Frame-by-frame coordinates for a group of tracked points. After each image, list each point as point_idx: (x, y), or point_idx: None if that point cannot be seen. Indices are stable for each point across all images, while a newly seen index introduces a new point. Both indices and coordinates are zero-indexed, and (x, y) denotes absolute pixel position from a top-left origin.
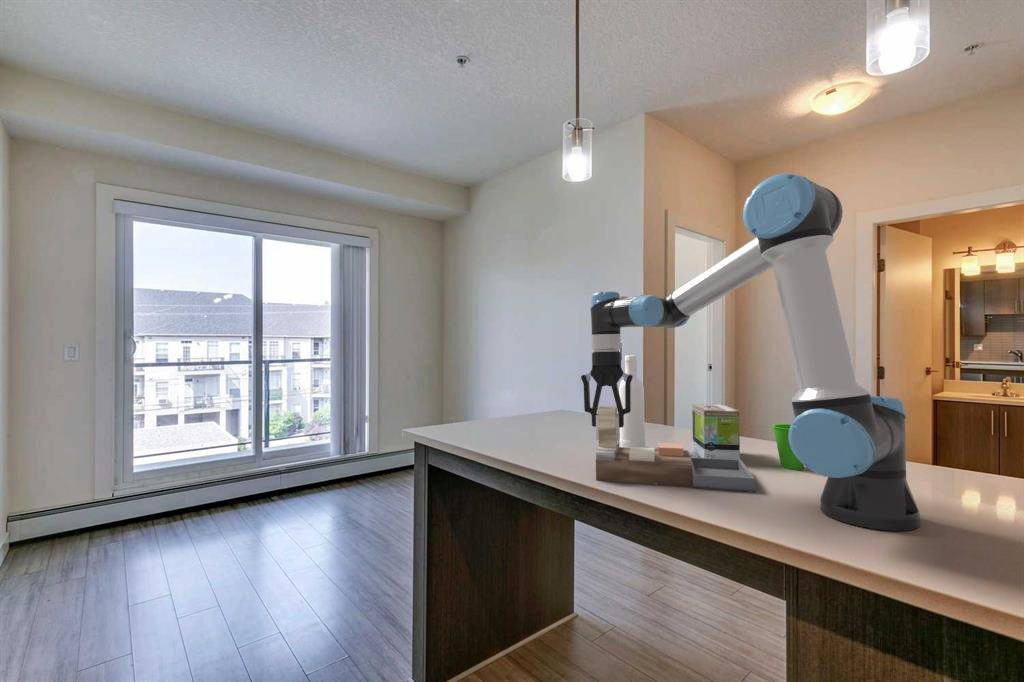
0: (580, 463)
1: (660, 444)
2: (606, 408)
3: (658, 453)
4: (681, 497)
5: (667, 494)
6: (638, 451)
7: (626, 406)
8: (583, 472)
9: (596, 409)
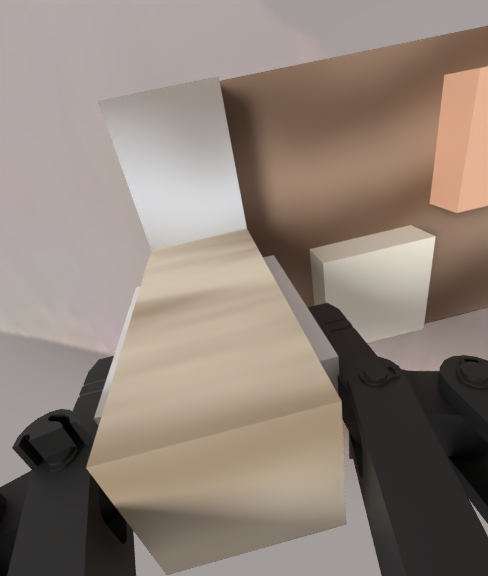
0: (16, 139)
1: (481, 123)
2: (252, 542)
3: (433, 164)
4: (418, 356)
5: (391, 352)
6: (364, 328)
7: (480, 495)
8: (119, 276)
9: (132, 542)
